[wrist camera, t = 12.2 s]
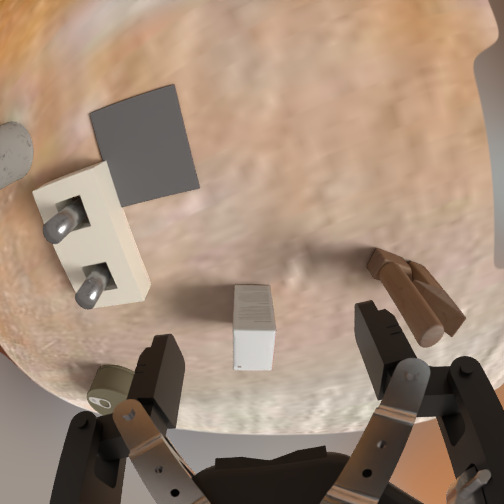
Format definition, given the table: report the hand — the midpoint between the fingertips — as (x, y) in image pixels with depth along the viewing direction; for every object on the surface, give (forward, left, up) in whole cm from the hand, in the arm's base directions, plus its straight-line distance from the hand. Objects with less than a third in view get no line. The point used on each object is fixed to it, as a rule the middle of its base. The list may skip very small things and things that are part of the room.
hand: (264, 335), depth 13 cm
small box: (+21, -4, -30) cm, 37 cm away
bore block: (+4, -24, -30) cm, 39 cm away
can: (+37, -35, -30) cm, 60 cm away
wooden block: (+19, +20, -30) cm, 41 cm away
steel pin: (-1, -24, -30) cm, 38 cm away
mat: (-6, -13, -30) cm, 33 cm away
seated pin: (+9, -24, -30) cm, 39 cm away
